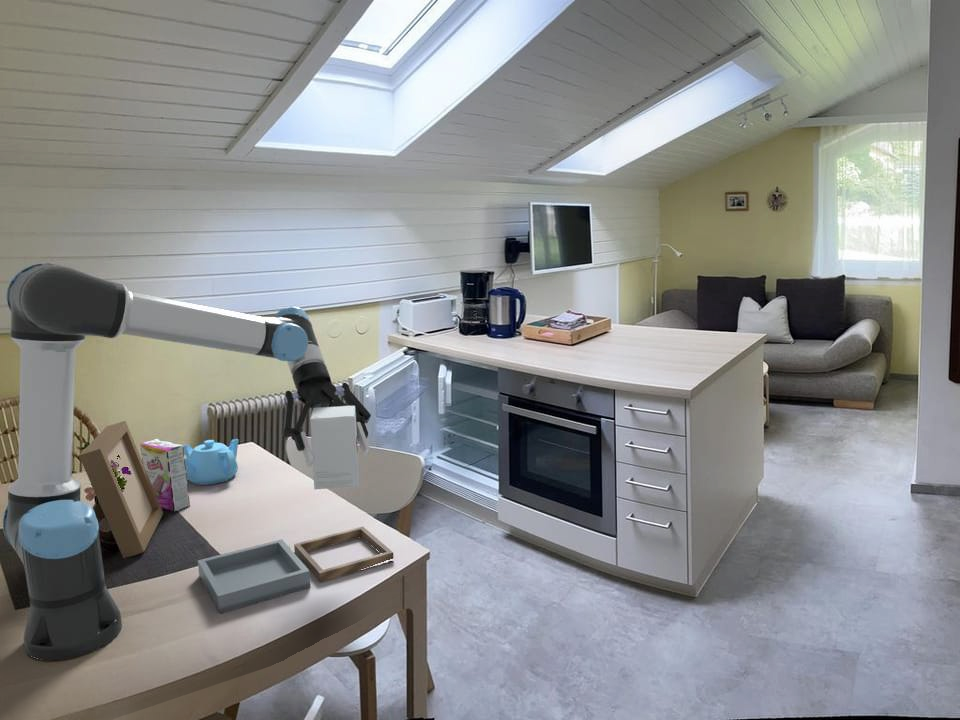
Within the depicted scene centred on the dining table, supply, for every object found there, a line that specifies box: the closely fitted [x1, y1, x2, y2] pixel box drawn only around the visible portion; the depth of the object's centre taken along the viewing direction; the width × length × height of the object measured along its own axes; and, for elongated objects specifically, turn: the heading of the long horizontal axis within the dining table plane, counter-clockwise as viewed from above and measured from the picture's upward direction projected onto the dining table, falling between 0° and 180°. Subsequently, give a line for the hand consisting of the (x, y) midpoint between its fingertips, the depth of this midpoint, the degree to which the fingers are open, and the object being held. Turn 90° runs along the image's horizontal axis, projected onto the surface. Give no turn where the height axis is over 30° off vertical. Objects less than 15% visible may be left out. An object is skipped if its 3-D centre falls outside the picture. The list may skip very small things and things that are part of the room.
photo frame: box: [78, 420, 164, 559], centre depth 170 cm, size 15×22×25 cm
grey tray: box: [197, 539, 311, 614], centre depth 151 cm, size 17×17×4 cm
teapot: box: [182, 438, 239, 486], centre depth 210 cm, size 15×15×11 cm
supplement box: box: [309, 405, 360, 490], centre depth 155 cm, size 9×9×15 cm
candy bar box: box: [139, 438, 191, 513], centre depth 190 cm, size 11×5×16 cm, turn 58°
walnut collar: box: [293, 526, 395, 583], centre depth 161 cm, size 16×16×2 cm
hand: (339, 457), depth 154 cm, fingers closed on supplement box, 11 cm apart
